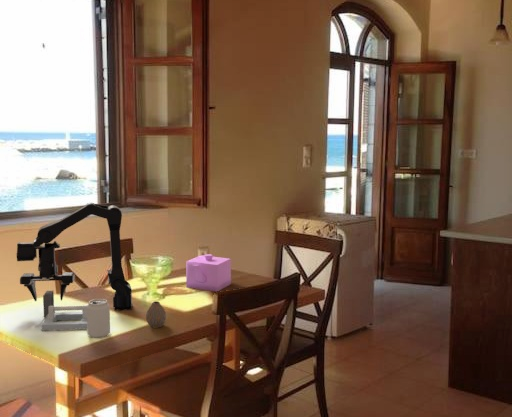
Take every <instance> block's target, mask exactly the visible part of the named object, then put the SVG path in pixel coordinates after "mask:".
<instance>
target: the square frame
mask: <svg viewBox="0 0 512 417" xmlns="http://www.w3.org/2000/svg"><path fill="white" fill-rule="evenodd" d="M87 305H88V304H82V305H69V306H67V305H66V306H62V305H61V306H55V305H54V306H49V307H48V310H49V313H48V315H47V316H45V317H44V320H43V321H42V324H41V331H42V332H43V331H61V330H62V331H64V330H66V331H68V330H87ZM57 311H58V312H57ZM59 311H65V312H59ZM66 311H67V312H66ZM69 320H80V321H69Z"/></svg>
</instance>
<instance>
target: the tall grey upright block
mask: <svg viewBox="0 0 512 417" xmlns="http://www.w3.org/2000/svg"><path fill="white" fill-rule="evenodd" d="M42 298H43V299H42V302H43V317H47V315H48V313H49V310H48V307H49V306H54V307H55V298H54V290H46V291H45V292H44V294H43V296H42Z"/></svg>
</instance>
